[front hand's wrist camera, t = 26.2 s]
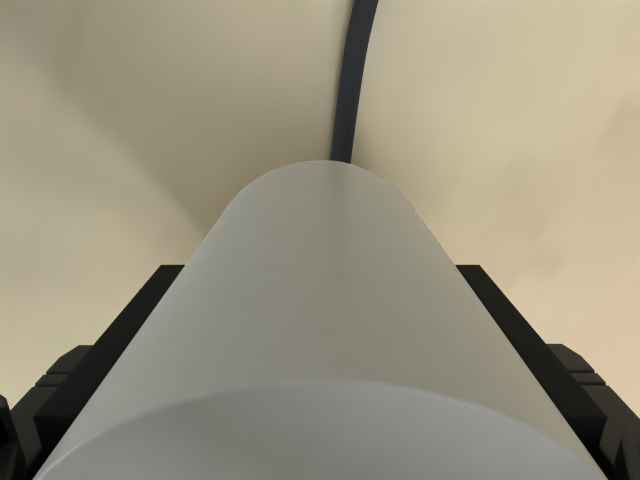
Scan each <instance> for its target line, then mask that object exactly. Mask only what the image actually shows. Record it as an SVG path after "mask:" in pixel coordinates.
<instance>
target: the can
mask: <svg viewBox="0 0 640 480" xmlns="http://www.w3.org/2000/svg"><path fill="white" fill-rule="evenodd" d="M33 480H608V479H607V477H606V476H605V475H604V473H603V472H602V470H601V469H600V468H599V466H598V465H597V463H596V462H595V461H594V459H593V458H592V456H591V455H590V454H589V452H588V451H587V449H586V448H585V447H584V445H583V444H582V442H581V441H580V440H579V438H578V437H577V435H576V434H575V433H574V431H573V430H572V428H571V427H570V426H569V424H568V423H567V421H566V420H565V419H564V417H563V416H562V414H561V413H560V412H559V410H558V409H557V407H556V406H555V405H554V403H553V402H552V400H551V399H550V398H549V396H548V395H547V393H546V392H545V391H544V389H543V388H542V386H541V385H540V384H539V382H538V381H537V379H536V378H535V377H534V375H533V374H532V372H531V371H530V370H529V368H528V367H527V365H526V364H525V363H524V361H523V360H522V358H521V357H520V356H519V354H518V353H517V351H516V350H515V349H514V347H513V346H512V344H511V343H510V342H509V340H508V339H507V337H506V336H505V335H504V333H503V332H502V330H501V329H500V328H499V326H498V325H497V323H496V322H495V321H494V319H493V318H492V316H491V315H490V314H489V312H488V311H487V309H486V308H485V307H484V305H483V304H482V302H481V301H480V300H479V298H478V297H477V295H476V294H475V293H474V291H473V290H472V288H471V287H470V286H469V284H468V283H467V281H466V280H465V279H464V277H463V276H462V274H461V273H460V272H459V270H458V269H457V267H456V266H455V265H454V263H453V262H452V260H451V259H450V258H449V256H448V255H447V253H446V252H445V251H444V249H443V248H442V246H441V245H440V244H439V242H438V241H437V239H436V238H435V237H434V235H433V234H432V232H431V231H430V230H429V228H428V227H427V225H426V224H425V223H424V221H423V220H422V218H421V217H420V216H419V214H418V213H417V211H416V210H415V209H414V207H413V206H412V205H411V203H410V202H409V201H408V200H407V198H406V197H405V196H404V195H403V194H402V193H401V192H400V191H399V190H398V189H397V188H396V187H395V186H393V185H392V184H391V183H389V182H388V181H386V180H385V179H384V178H382V177H381V176H379V175H377V174H375V173H373V172H371V171H369V170H367V169H364V168H361V167H359V166H356V165H353V164H348V163H344V162H340V161H330V160H308V161H302V162H296V163H291V164H288V165H285V166H281V167H278V168H276V169H274V170H271V171H269V172H267V173H265V174H263V175H261V176H260V177H258V178H257V179H255V180H254V181H252V182H250V183H249V184H248V185H247V186H246V187H245V188H243V189H242V190H241V191H240V192H239V193H238V194H237V195H236V196H235V198H234V199H233V200H232V201H231V202H230V203H229V205H228V206H227V207H226V209H225V210H224V212H223V213H222V214H221V216H220V217H219V219H218V220H217V222H216V223H215V224H214V226H213V227H212V229H211V230H210V231H209V233H208V234H207V236H206V237H205V238H204V240H203V241H202V243H201V244H200V245H199V247H198V248H197V250H196V251H195V252H194V254H193V255H192V257H191V258H190V259H189V261H188V262H187V264H186V265H185V266H184V268H183V269H182V271H181V272H180V273H179V275H178V276H177V278H176V279H175V280H174V282H173V283H172V285H171V286H170V287H169V289H168V290H167V292H166V293H165V294H164V296H163V297H162V299H161V300H160V301H159V303H158V304H157V306H156V307H155V308H154V310H153V311H152V313H151V314H150V315H149V317H148V318H147V320H146V321H145V322H144V324H143V325H142V327H141V328H140V330H139V331H138V332H137V334H136V335H135V337H134V338H133V339H132V341H131V342H130V344H129V345H128V346H127V348H126V349H125V351H124V352H123V353H122V355H121V356H120V358H119V359H118V360H117V362H116V363H115V365H114V366H113V367H112V369H111V370H110V372H109V373H108V374H107V376H106V377H105V379H104V380H103V381H102V383H101V384H100V386H99V387H98V388H97V390H96V391H95V393H94V394H93V395H92V397H91V398H90V400H89V401H88V402H87V404H86V405H85V407H84V408H83V409H82V411H81V412H80V414H79V415H78V416H77V418H76V419H75V421H74V422H73V423H72V425H71V426H70V428H69V429H68V430H67V432H66V433H65V435H64V436H63V437H62V439H61V440H60V442H59V443H58V445H57V446H56V447H55V449H54V450H53V452H52V453H51V454H50V456H49V457H48V459H47V460H46V461H45V463H44V464H43V466H42V467H41V468H40V470H39V471H38V473H37V474H36V475H35V477H34V478H33Z"/></svg>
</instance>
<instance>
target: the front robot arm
mask: <svg viewBox="0 0 640 480" xmlns="http://www.w3.org/2000/svg"><path fill="white" fill-rule="evenodd" d="M377 4H378V0H355V1H354V6H353V10H352V15H351V19H350V24H349V29H348V34H347V39H346V44H345V50H344V56H343V63H342V69H341V76H340V84H339V92H338V100H337V108H336V116H335V124H334V133H333V141H332V151H331V161H340V162H344V163H348V164H351V155H352V147H353V139H354V132H355V124H356V117H357V110H358V103H359V96H360V89H361V82H362V76H363V70H364V63H365V58H366V53H367V47H368V42H369V38H370V33H371V29H372V24H373V20H374V16H375V12H376V8H377ZM184 266H185V265H161V266H160V267H159V268H158V269H157V270H156V271H155V273H154V274H153V275H152V276H151V277H150V279H149V280H148V281H147V282H146V283H145V285H144V286H143V287H142V288H141V289H140V290H139V292H138V293H137V294H136V295H135V296H134V298H133V299H132V300H131V301H130V302H129V303H128V305H127V306H126V307H125V308H124V309H123V311H122V312H121V313H120V314H119V315H118V317H117V318H116V319H115V320H114V321H113V322H112V324H111V325H110V326H109V327H108V328H107V330H106V331H105V332H104V333H103V334H102V335H101V337H100V338H99V339H98V340H97V341H96V343H95V344H94V345H79V346H77V347H75V348H74V349H72V350H71V351H69V352H68V353H66V354H64V355H63V356H61V357H60V358H59V359H58V360H57V361H56V362H55V363H54V364H53V365H52V366H51V367H50V368H49V369H48V371H47V372H46V375H43V376H42V377H41V378H40V379H39V380H38V381H37V382H36V384H35V387H32V388H31V389H30V390H29V391H28V392H27V393H26V394H25V395H24V396H23V398H22V399H21V400H20V401H19V402H18V403H17V404H16V405H15V406H14V407H13V408H12V409H11V410H10V409H9V406H8V403H7V399H6V398H5V397H3V396H2V395H0V480H33V478H34V477H35V475H36V474H37V473H38V471H39V470H40V468H41V467H42V466H43V464H44V463H45V461H46V460H47V459H48V457H49V456H50V454H51V453H52V452H53V450H54V449H55V447H56V446H57V445H58V443H59V442H60V440H61V439H62V437H63V436H64V435H65V433H66V432H67V430H68V429H69V428H70V426H71V425H72V423H73V422H74V421H75V419H76V418H77V416H78V415H79V414H80V412H81V411H82V409H83V408H84V407H85V405H86V404H87V402H88V401H89V400H90V398H91V397H92V395H93V394H94V393H95V391H96V390H97V388H98V387H99V386H100V384H101V383H102V381H103V380H104V379H105V377H106V376H107V374H108V373H109V372H110V370H111V369H112V367H113V366H114V365H115V363H116V362H117V360H118V359H119V358H120V356H121V355H122V353H123V352H124V351H125V349H126V348H127V346H128V345H129V344H130V342H131V341H132V339H133V338H134V337H135V335H136V334H137V332H138V331H139V330H140V328H141V327H142V325H143V324H144V322H145V321H146V320H147V318H148V317H149V315H150V314H151V313H152V311H153V310H154V308H155V307H156V306H157V304H158V303H159V301H160V300H161V299H162V297H163V296H164V294H165V293H166V292H167V290H168V289H169V287H170V286H171V285H172V283H173V282H174V280H175V279H176V278H177V276H178V275H179V273H180V272H181V271H182V269H183V268H184ZM455 266H456V267H457V269H458V270H459V272H460V273H461V274H462V276H463V277H464V279H465V280H466V281H467V283H468V284H469V286H470V287H471V288H472V290H473V291H474V293H475V294H476V295H477V297H478V298H479V300H480V301H481V302H482V304H483V305H484V307H485V308H486V309H487V311H488V312H489V314H490V315H491V316H492V318H493V319H494V321H495V322H496V323H497V325H498V326H499V328H500V329H501V330H502V332H503V333H504V335H505V336H506V337H507V339H508V340H509V342H510V343H511V344H512V346H513V347H514V349H515V350H516V351H517V353H518V354H519V356H520V357H521V358H522V360H523V361H524V363H525V364H526V365H527V367H528V368H529V370H530V371H531V372H532V374H533V375H534V377H535V378H536V379H537V381H538V382H539V384H540V385H541V386H542V388H543V389H544V391H545V392H546V393H547V395H548V396H549V398H550V399H551V400H552V402H553V403H554V405H555V406H556V407H557V409H558V410H559V412H560V413H561V414H562V416H563V417H564V419H565V420H566V421H567V423H568V424H569V426H570V427H571V428H572V430H573V431H574V433H575V434H576V435H577V437H578V438H579V440H580V441H581V442H582V444H583V445H584V447H585V448H586V449H587V451H588V452H589V454H590V455H591V456H592V458H593V459H594V461H595V462H596V463H597V465H598V466H599V468H600V469H601V470H602V472H603V473H604V475H605V476H606V477H607V479H608V480H640V419H639V418H638V417H637V416H636V414H635V413H634V412H633V411H632V410H631V409H630V408H629V407H628V406H627V405H626V404H625V403H624V402H623V401H622V399H621V398H620V397H619V396H618V395H617V394H616V393H615V392H614V391H613V390H612V389H611V388H610V387H609V386H606V382H605V381H604V380H603V379H602V378H601V377H600V376H599V375H598V374H597V373H595V372H594V369H593V368H592V367H591V366H590V365H589V364H588V363H587V362H586V361H585V360H584V359H583V358H582V357H581V356H580V355H579V354H577V353H575V352H574V351H572V350H571V349H569V348H567V347H566V346H564V345H563V344H546V343H545V342H544V341H543V340H542V339H541V337H540V336H539V335H538V334H537V333H536V332H535V330H534V329H533V328H532V327H531V326H530V324H529V323H528V322H527V321H526V320H525V319H524V317H523V316H522V315H521V314H520V313H519V311H518V310H517V309H516V308H515V307H514V306H513V304H512V303H511V302H510V301H509V300H508V298H507V297H506V296H505V295H504V294H503V292H502V291H501V290H500V289H499V288H498V287H497V285H496V284H495V283H494V282H493V281H492V279H491V278H490V277H489V276H488V275H487V274H486V272H485V271H484V270H483V269H482V268H481V266H480V265H455Z"/></svg>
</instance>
